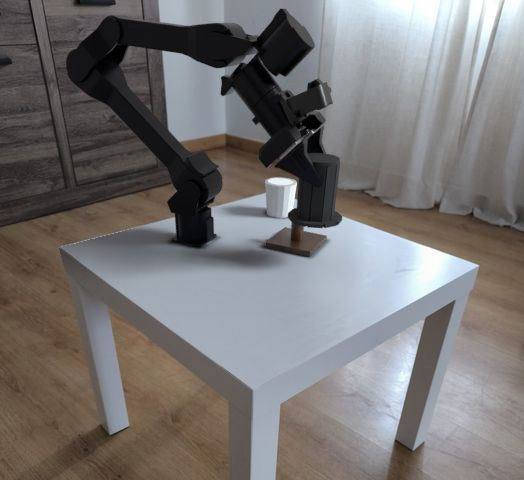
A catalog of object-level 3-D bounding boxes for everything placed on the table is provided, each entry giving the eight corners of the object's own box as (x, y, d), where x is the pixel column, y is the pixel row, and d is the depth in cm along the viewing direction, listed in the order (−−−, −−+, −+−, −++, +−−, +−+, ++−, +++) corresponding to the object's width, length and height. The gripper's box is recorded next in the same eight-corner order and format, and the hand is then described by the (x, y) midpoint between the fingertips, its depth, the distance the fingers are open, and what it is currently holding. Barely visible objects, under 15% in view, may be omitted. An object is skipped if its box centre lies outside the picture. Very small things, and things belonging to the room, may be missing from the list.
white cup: (292, 220, 105) (294, 187, 101) (261, 217, 106) (261, 184, 102) (297, 209, 110) (299, 178, 106) (267, 207, 111) (268, 175, 107)
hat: (297, 229, 79) (302, 166, 74) (282, 210, 87) (285, 151, 81) (349, 226, 81) (358, 164, 75) (330, 208, 89) (336, 150, 83)
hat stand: (265, 247, 92) (266, 216, 89) (284, 231, 99) (286, 202, 96) (309, 256, 89) (312, 225, 86) (326, 240, 96) (329, 210, 92)
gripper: (283, 63, 64) (354, 161, 68) (319, 55, 79) (376, 136, 82) (228, 122, 71) (296, 208, 74) (271, 105, 85) (325, 177, 89)
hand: (326, 180), depth 80 cm, fingers closed on hat, 6 cm apart
